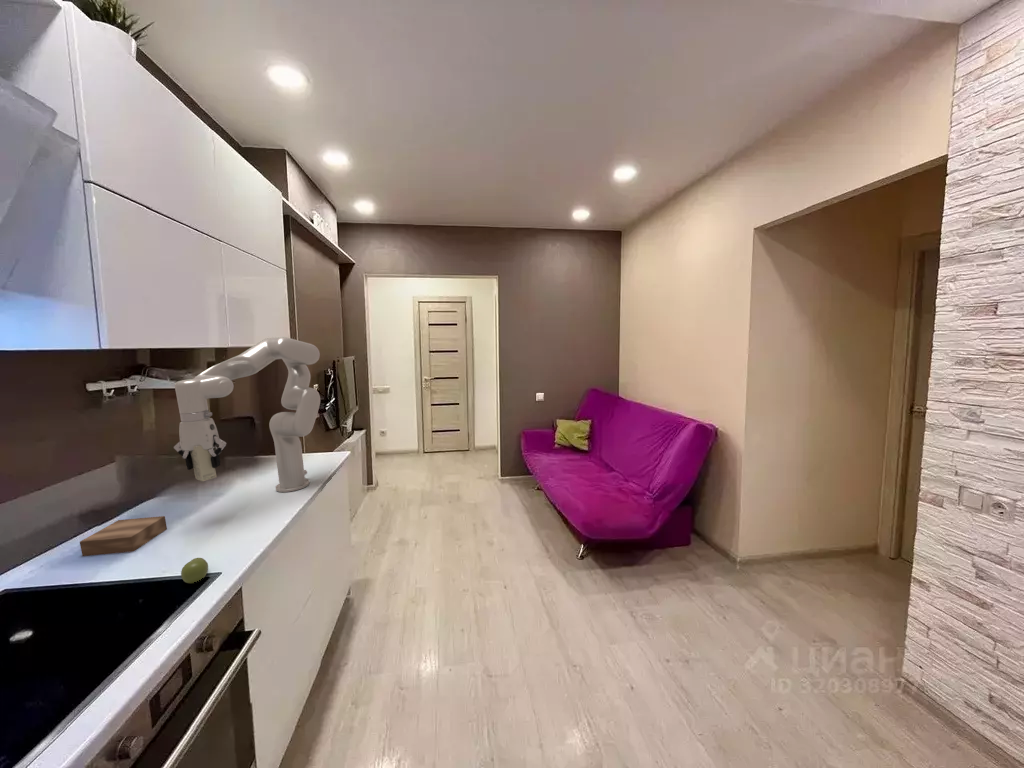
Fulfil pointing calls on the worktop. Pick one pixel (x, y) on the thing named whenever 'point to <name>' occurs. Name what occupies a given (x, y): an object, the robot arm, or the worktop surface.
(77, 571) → the worktop surface
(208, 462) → the skincare box
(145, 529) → the walnut block
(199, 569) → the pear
